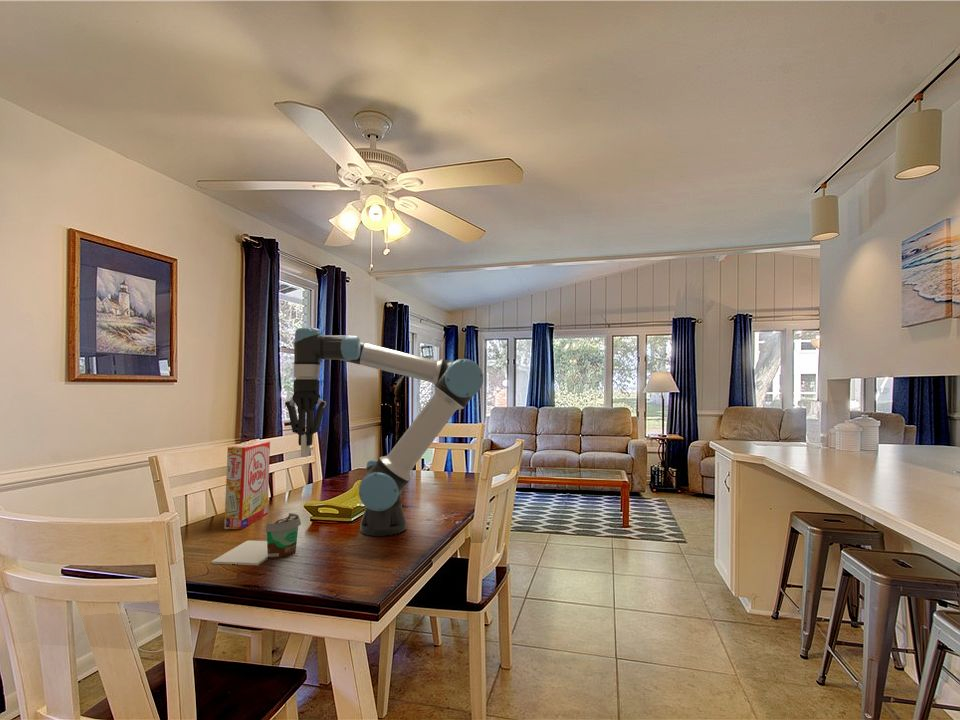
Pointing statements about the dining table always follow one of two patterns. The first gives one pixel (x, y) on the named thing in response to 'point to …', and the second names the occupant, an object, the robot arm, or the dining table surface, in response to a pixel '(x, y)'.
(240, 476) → the board game box
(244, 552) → the mat
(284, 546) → the food container
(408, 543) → the dining table surface
